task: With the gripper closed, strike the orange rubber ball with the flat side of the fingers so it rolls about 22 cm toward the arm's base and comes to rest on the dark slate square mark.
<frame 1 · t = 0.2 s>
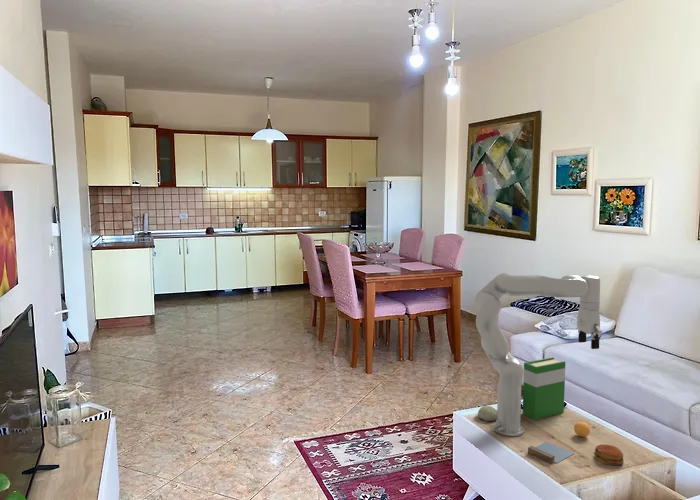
hand: (588, 345, 215), 36 cm above the table, tool pointing down, fingers open, 9 cm apart
burger: (608, 460, 193), on the table
sea urchin shell: (488, 418, 230), on the table
ball: (582, 429, 211), on the table
hardback book: (543, 413, 235), on the table
stopper wall: (540, 457, 194), on the table
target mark: (551, 452, 199), on the table
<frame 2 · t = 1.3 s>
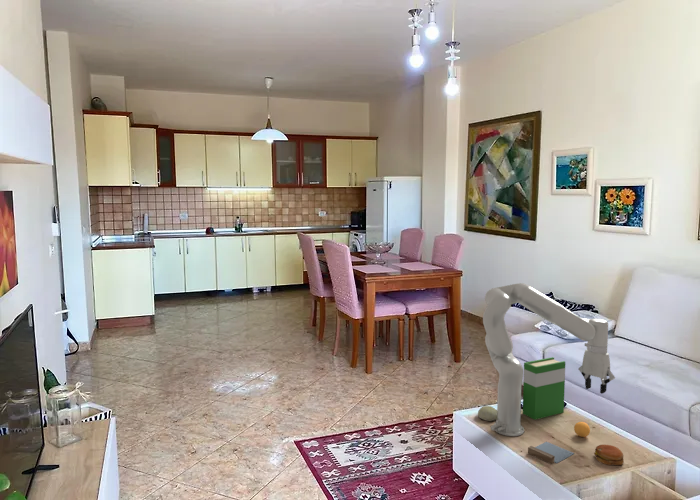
hand: (595, 390, 215), 18 cm above the table, tool pointing down, fingers open, 5 cm apart
nothing on the table moved.
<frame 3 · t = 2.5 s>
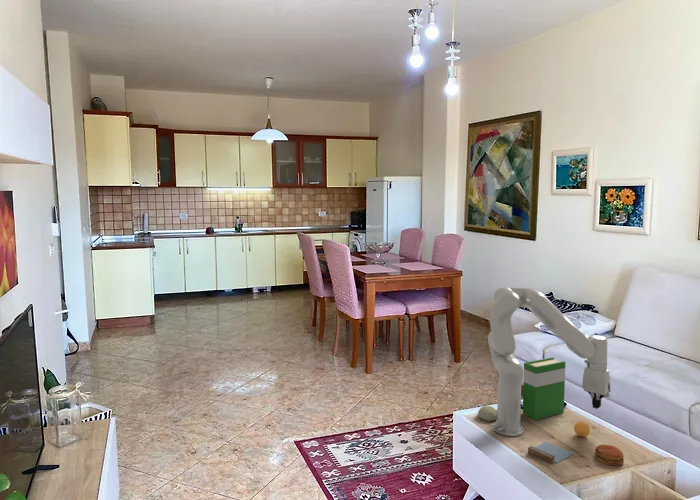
hand: (596, 407, 216), 10 cm above the table, tool pointing down, fingers closed
nothing on the table moved.
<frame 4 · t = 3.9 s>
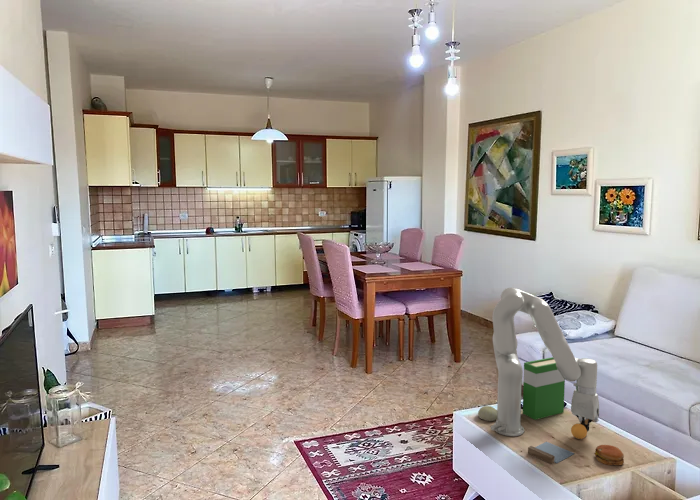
hand: (584, 431, 213), 1 cm above the table, tool pointing down, fingers closed
ball: (579, 431, 210), on the table
everything else where it was.
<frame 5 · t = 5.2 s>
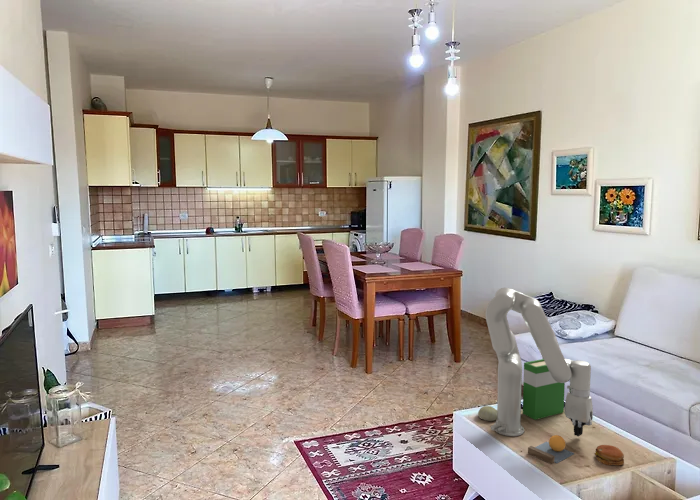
hand: (578, 434, 210), 1 cm above the table, tool pointing down, fingers closed
ball: (557, 443, 200), on the table
everything else where it was.
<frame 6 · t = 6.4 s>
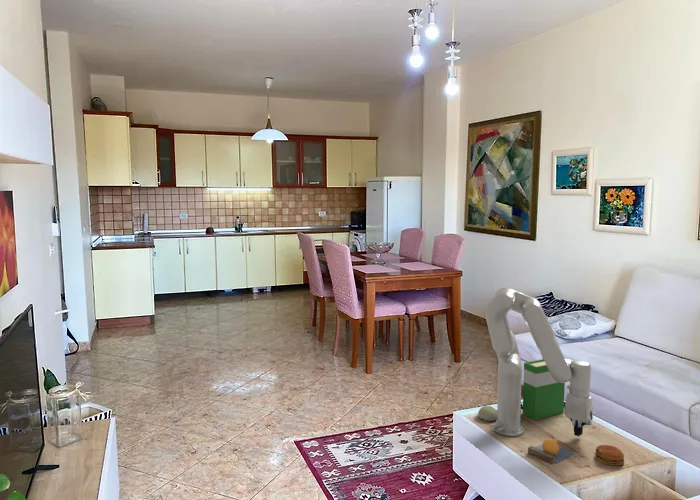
hand: (578, 434, 210), 1 cm above the table, tool pointing down, fingers closed
ball: (550, 446, 197), on the table
everything else where it was.
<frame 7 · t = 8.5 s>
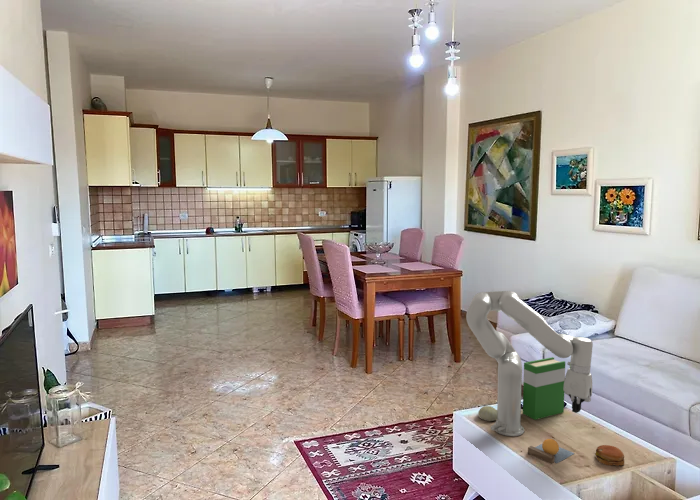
hand: (576, 411, 209), 11 cm above the table, tool pointing down, fingers closed
nothing on the table moved.
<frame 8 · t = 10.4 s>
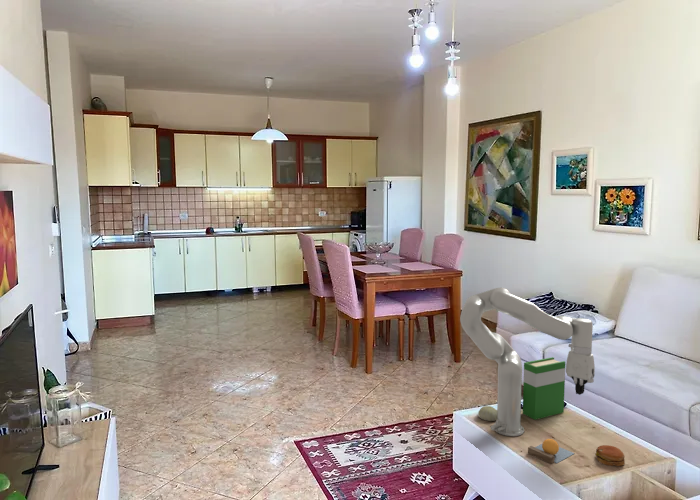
hand: (579, 393, 208), 19 cm above the table, tool pointing down, fingers closed
nothing on the table moved.
at the end: ball 1.9 cm from the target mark (horizontally); ball at rest at the end (0.0 cm/s); ball moved 23.8 cm from its start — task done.
